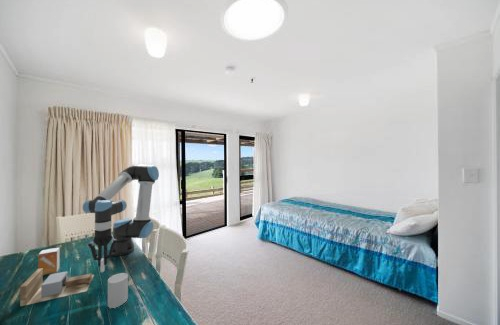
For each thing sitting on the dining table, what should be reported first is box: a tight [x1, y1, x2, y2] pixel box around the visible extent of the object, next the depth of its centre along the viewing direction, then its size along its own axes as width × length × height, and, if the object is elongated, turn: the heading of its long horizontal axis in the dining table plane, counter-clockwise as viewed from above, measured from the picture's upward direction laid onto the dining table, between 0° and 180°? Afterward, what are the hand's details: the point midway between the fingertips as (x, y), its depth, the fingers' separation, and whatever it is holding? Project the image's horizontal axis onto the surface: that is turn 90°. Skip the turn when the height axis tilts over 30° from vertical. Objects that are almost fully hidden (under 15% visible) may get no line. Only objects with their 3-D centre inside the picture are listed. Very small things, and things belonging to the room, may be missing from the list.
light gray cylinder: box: [107, 272, 129, 309], centre depth 96 cm, size 8×8×12 cm
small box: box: [37, 247, 61, 276], centre depth 120 cm, size 8×6×13 cm
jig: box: [19, 268, 95, 307], centre depth 103 cm, size 24×16×10 cm, turn 117°
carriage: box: [41, 271, 69, 297], centre depth 102 cm, size 7×10×6 cm
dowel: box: [65, 272, 93, 288], centre depth 107 cm, size 10×4×4 cm, turn 117°
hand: (102, 270), depth 111 cm, fingers closed
